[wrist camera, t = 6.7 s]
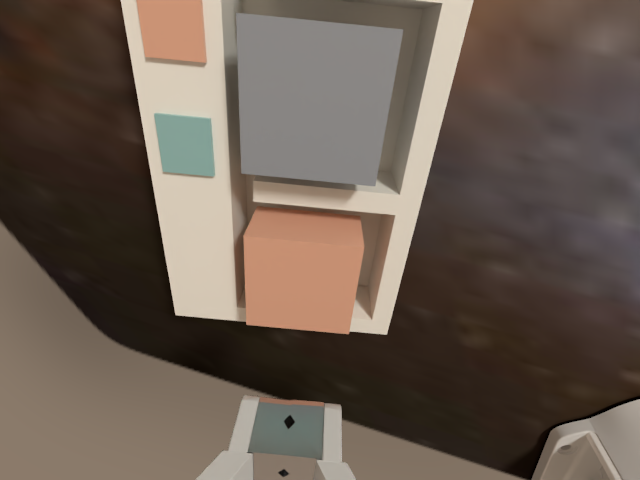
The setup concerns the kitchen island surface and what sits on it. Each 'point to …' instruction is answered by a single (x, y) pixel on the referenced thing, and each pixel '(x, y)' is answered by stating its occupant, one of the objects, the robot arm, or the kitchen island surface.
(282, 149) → the slate key
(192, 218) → the three-slot colour tray
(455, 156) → the kitchen island surface
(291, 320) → the terracotta key
